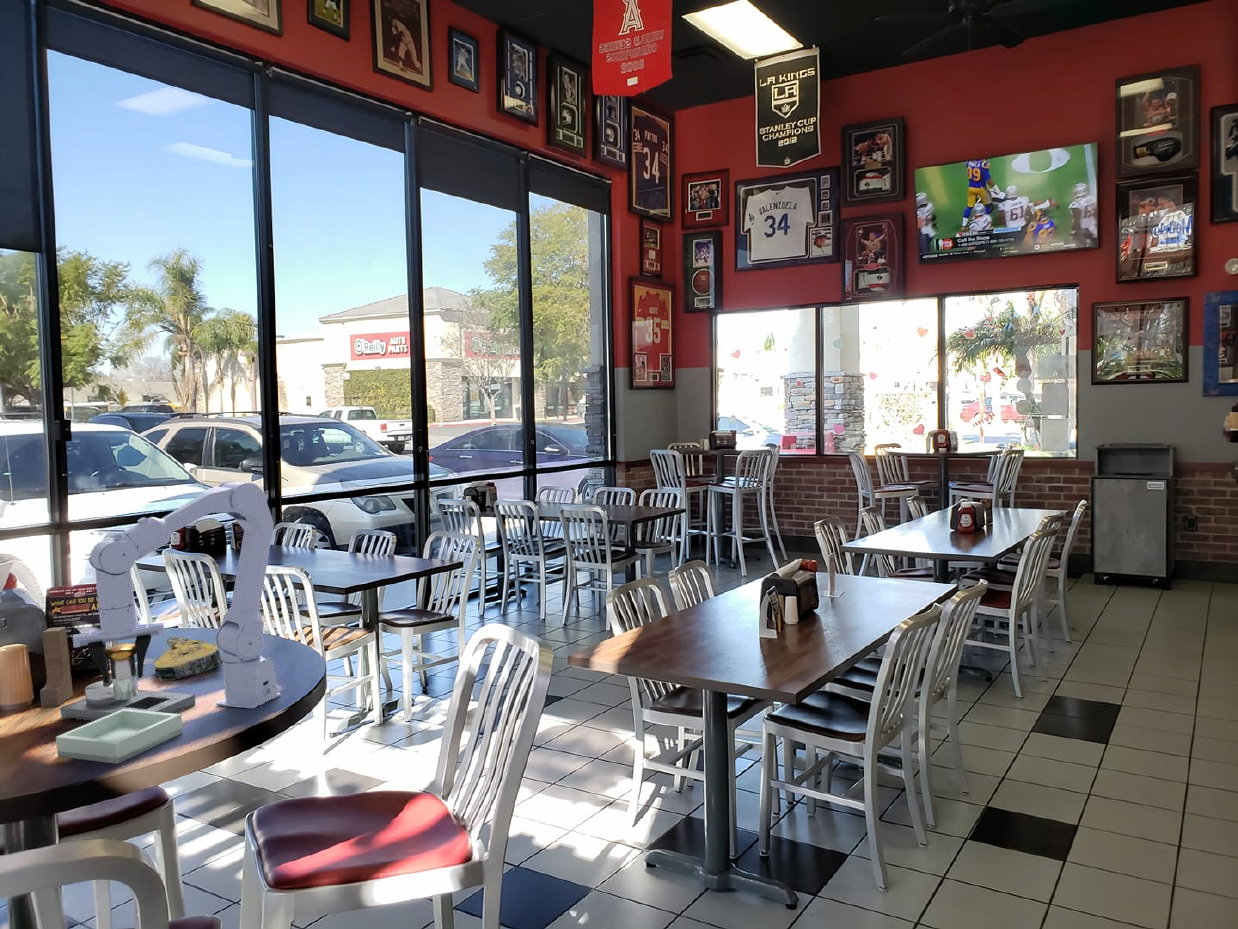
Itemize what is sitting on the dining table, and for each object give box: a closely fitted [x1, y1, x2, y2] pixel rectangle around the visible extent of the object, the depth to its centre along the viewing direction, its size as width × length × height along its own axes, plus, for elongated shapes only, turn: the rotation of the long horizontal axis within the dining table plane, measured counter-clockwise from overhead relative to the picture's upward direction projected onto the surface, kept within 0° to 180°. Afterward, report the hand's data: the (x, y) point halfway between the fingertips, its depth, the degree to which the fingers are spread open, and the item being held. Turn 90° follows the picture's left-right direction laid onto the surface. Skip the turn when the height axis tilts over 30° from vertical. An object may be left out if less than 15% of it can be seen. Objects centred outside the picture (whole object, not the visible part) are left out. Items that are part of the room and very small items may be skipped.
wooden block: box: [39, 626, 74, 708], centre depth 189 cm, size 7×3×15 cm, turn 6°
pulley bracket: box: [59, 678, 196, 722], centre depth 182 cm, size 22×12×6 cm, turn 70°
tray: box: [55, 709, 184, 765], centre depth 164 cm, size 14×14×4 cm
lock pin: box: [106, 643, 139, 700], centre depth 169 cm, size 5×5×9 cm
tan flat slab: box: [153, 636, 223, 683], centre depth 212 cm, size 14×6×30 cm
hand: (123, 679), depth 168 cm, fingers closed on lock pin, 5 cm apart
